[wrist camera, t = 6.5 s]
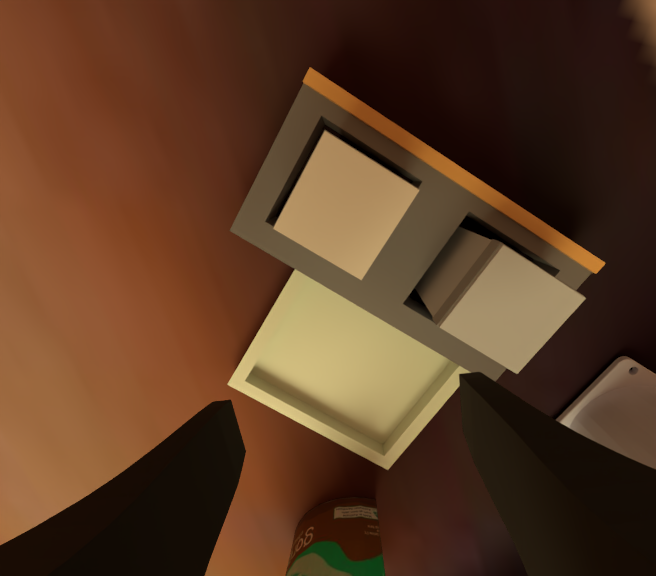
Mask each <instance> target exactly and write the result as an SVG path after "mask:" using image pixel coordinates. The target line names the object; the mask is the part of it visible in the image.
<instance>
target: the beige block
mask: <svg viewBox="0 0 656 576" xmlns="http://www.w3.org/2000/svg"><path fill="white" fill-rule="evenodd" d="M415 289H416V291H417V292H418V294H419V295H420V297H421V299H422V300H423V302H424V303H425V305H426V307H427V308H428V310H429V311H430V313H431V315H432V316H433V318H432V319H433V321H434V322H435V324H436V326H438V327H439V328H441V329H443V330H444V331H446V332H448V333H449V334H451V335H453V336H454V337H456V338H458V339H459V340H461V341H463V342H464V343H466V344H468V345H469V346H471V347H473V348H474V349H476V350H478V351H479V352H481V353H483V354H484V355H486V356H488V357H489V358H491V359H493V360H494V361H496V362H498V363H499V364H501V365H503V366H504V367H506V368H508V369H509V370H511V371H513V372H514V373H516V374H518V373H519V371H520V370H521V369H522V368H523V367H524V366H525V365H526V364H527V363H528V362H529V360H530V359H531V358H532V357H533V356H534V355H535V354H536V353H537V352H538V351H539V349H540V348H541V347H542V346H543V345H544V344H545V343H546V342H547V341H548V339H549V338H550V337H551V336H552V335H553V334H554V333H555V332H556V331H557V330H558V328H559V327H560V326H561V325H562V324H563V323H564V322H565V321H566V320H567V319H568V317H569V316H570V315H571V314H572V313H573V312H574V311H575V310H576V309H577V307H578V306H579V305H580V304H581V303H582V302H583V301H584V300H585V299H586V298H585V297H584V296H583V295H582V294H580V293H579V292H577V291H576V290H574V289H573V288H571V287H570V286H568V285H566V284H565V283H563V282H562V281H560V280H559V279H557V278H556V277H554V276H553V275H551V274H549V273H548V272H546V271H545V270H543V269H542V268H540V267H539V266H537V265H536V264H534V263H533V262H531V261H529V260H528V259H526V258H525V257H523V256H522V255H520V254H519V253H517V252H516V251H514V250H513V249H511V248H509V247H508V246H506V245H505V244H503V243H502V242H499V241H497V240H494V239H492V240H490V239H488V238H486V237H483V236H481V235H478V234H476V233H473V232H471V231H469V230H466V229H464V228H461V227H459V226H458V228H457V229H456V230H455V232H454V233H453V235H452V236H451V237H450V239H449V240H448V241H447V243H446V244H445V246H444V247H443V248H442V250H441V251H440V253H439V254H438V255H437V257H436V258H435V260H434V261H433V262H432V264H431V265H430V267H429V268H428V269H427V271H426V272H425V273H424V275H423V276H422V278H421V279H420V280H419V282H418V283H417V285H416V286H415Z"/></svg>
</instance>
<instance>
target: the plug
mask: <svg viewBox="0 0 656 576" xmlns="http://www.w3.org/2000/svg"><path fill="white" fill-rule="evenodd" d="M419 191H420V189H419V188H417V187H415V186H414V185H412V184H411V183H409V182H407V181H406V180H404V179H403V178H401V177H400V176H398V175H396V174H395V173H393V172H392V171H390V170H388V169H387V168H385V167H384V166H382V165H380V164H379V163H377V162H376V161H374V160H372V159H371V158H369V157H368V156H366V155H365V154H363V153H361V152H360V151H358V150H357V149H355V148H353V147H352V146H350V145H349V144H347V143H345V142H344V141H342V140H341V139H339V138H338V137H336V136H334V135H333V134H331V133H330V132H328V131H326V130H324V132H323V134H322V136H321V138H320V140H319V141H318V143H317V145H316V147H315V149H314V151H313V153H312V155H311V157H310V158H309V160H308V162H307V164H306V166H305V168H304V170H303V172H302V174H301V176H300V177H299V179H298V181H297V183H296V185H295V187H294V189H293V191H292V193H291V194H290V196H289V198H288V200H287V202H286V204H285V206H284V208H283V210H282V212H281V213H280V215H279V217H278V219H277V221H276V223H275V225H274V227H273V229H274V230H276V231H278V232H279V233H281V234H283V235H284V236H286V237H288V238H290V239H291V240H293V241H295V242H296V243H298V244H300V245H302V246H303V247H305V248H307V249H308V250H310V251H312V252H314V253H315V254H317V255H319V256H320V257H322V258H324V259H326V260H327V261H329V262H331V263H332V264H334V265H336V266H337V267H339V268H341V269H343V270H344V271H346V272H348V273H349V274H351V275H353V276H355V277H356V278H358V279H360V280H361V281H362V279H363V278H364V276H365V275H366V273H367V271H368V270H369V268H370V267H371V265H372V264H373V262H374V261H375V259H376V257H377V256H378V254H379V253H380V251H381V250H382V248H383V247H384V245H385V244H386V242H387V240H388V239H389V237H390V236H391V234H392V233H393V231H394V230H395V228H396V227H397V225H398V223H399V222H400V220H401V219H402V217H403V216H404V214H405V213H406V211H407V209H408V208H409V206H410V205H411V203H412V202H413V200H414V199H415V197H416V196H417V194H418V192H419Z"/></svg>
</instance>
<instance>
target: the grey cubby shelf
mask: <svg viewBox="0 0 656 576" xmlns="http://www.w3.org/2000/svg"><path fill="white" fill-rule="evenodd" d="M324 125H327V126H328V127H330V128H331V129H333V130H335V131H336V132H338V133H339V134H341V135H342V136H344V137H345V138H347V139H348V140H350V141H352V142H353V143H355V144H356V145H358V146H359V147H361V148H362V149H364V150H365V151H367V152H369V153H370V154H372V155H373V156H375V157H376V158H378V159H379V160H381V161H383V162H384V163H386V164H387V165H389V166H390V167H392V168H393V169H395V170H396V171H398V172H400V173H401V174H403V175H404V176H406V177H407V178H409V179H410V180H412V181H413V182H412V185H414V186H415V187H417V188H419V189H420V191H419V192H418V194H417V196H416V197H415V199H414V200H413V202H412V203H411V205H410V206H409V208H408V209H407V211H406V213H405V214H404V216H403V217H402V219H401V220H400V222H399V223H398V225H397V227H396V228H395V230H394V231H393V233H392V234H391V236H390V237H389V239H388V240H387V242H386V244H385V245H384V247H383V248H382V250H381V251H380V253H379V254H378V256H377V257H376V259H375V261H374V262H373V264H372V265H371V267H370V268H369V270H368V271H367V273H366V275H365V276H364V278H363V279H362V281H361V280H360V279H358V278H356V277H355V276H353V275H351V274H349V273H348V272H346V271H344V270H343V269H341V268H339V267H337V266H336V265H334V264H332V263H331V262H329V261H327V260H326V259H324V258H322V257H320V256H319V255H317V254H315V253H314V252H312V251H310V250H308V249H307V248H305V247H303V246H302V245H300V244H298V243H296V242H295V241H293V240H291V239H290V238H288V237H286V236H284V235H283V234H281V233H279V232H278V231H276V230H274V229H273V227H274V225H275V223H276V221H277V219H278V218H277V217H275V216H276V215H277V213H278V211H279V209H280V207H281V205H282V203H283V202H284V200H285V198H286V196H287V194H288V192H289V190H290V189H291V187H292V185H293V183H294V181H295V179H296V177H297V176H298V174H299V172H300V170H301V168H302V166H303V164H304V163H305V161H306V159H307V157H308V155H309V153H310V151H311V150H312V148H313V146H314V144H315V142H316V140H317V138H318V137H319V135H320V133H321V131H322V129H323V127H324ZM465 216H468V217H469V218H471V219H472V220H474V221H475V222H477V223H478V224H480V225H482V226H483V227H485V228H486V229H488V230H489V231H491V232H492V233H494V234H496V235H497V236H499V237H500V238H502V239H503V240H505V241H506V242H508V243H509V244H511V245H513V246H514V247H516V248H517V249H519V250H520V251H522V252H523V253H525V254H526V255H528V256H530V257H531V258H533V261H532V262H533V263H534V264H536V265H537V266H539V267H540V268H542V269H543V270H545V271H546V272H548V273H549V274H551V275H553V276H554V277H556V278H557V279H559V280H560V281H562V282H563V283H565V284H566V285H568V286H570V287H571V288H573V289H574V290H577V289H578V287H579V286H580V285H581V284H582V283H583V282H584V281H585V279H586V278H587V277H588V276H589V275H590V274H591V273H592V272H593V273H595V274H597V272H598V271H599V270H600V269H601V268H602V267H603V266H604V265H605V262H603V261H602V260H600V259H599V258H597V257H596V256H594V255H593V254H591V253H590V252H588V251H587V250H585V249H584V248H582V247H580V246H579V245H577V244H576V243H574V242H573V241H571V240H570V239H568V238H567V237H565V236H564V235H562V234H561V233H559V232H558V231H556V230H555V229H553V228H552V227H550V226H549V225H547V224H546V223H544V222H543V221H541V220H540V219H538V218H537V217H535V216H534V215H532V214H531V213H529V212H528V211H526V210H525V209H523V208H522V207H520V206H519V205H517V204H516V203H514V202H513V201H511V200H510V199H508V198H507V197H505V196H504V195H502V194H501V193H499V192H498V191H496V190H495V189H493V188H492V187H490V186H488V185H487V184H485V183H484V182H482V181H481V180H479V179H478V178H476V177H475V176H473V175H472V174H470V173H469V172H467V171H466V170H464V169H463V168H461V167H460V166H458V165H457V164H455V163H454V162H452V161H451V160H449V159H448V158H446V157H445V156H443V155H442V154H440V153H439V152H437V151H436V150H434V149H433V148H431V147H430V146H428V145H427V144H425V143H424V142H422V141H421V140H419V139H418V138H416V137H415V136H413V135H412V134H410V133H409V132H407V131H406V130H404V129H403V128H401V127H399V126H398V125H396V124H395V123H393V122H392V121H390V120H389V119H387V118H386V117H384V116H383V115H381V114H380V113H378V112H377V111H375V110H374V109H372V108H371V107H369V106H368V105H366V104H365V103H363V102H362V101H360V100H359V99H357V98H356V97H354V96H353V95H351V94H350V93H348V92H347V91H345V90H344V89H342V88H341V87H339V86H338V85H336V84H335V83H333V82H332V81H330V80H329V79H327V78H326V77H324V76H323V75H321V74H320V73H318V72H317V71H315V70H314V69H312V68H311V67H310V68H309V70H308V72H307V74H306V76H305V78H304V80H303V85H302V87H301V89H300V91H299V93H298V95H297V97H296V99H295V101H294V103H293V105H292V107H291V109H290V111H289V113H288V115H287V117H286V119H285V121H284V123H283V125H282V127H281V129H280V131H279V133H278V135H277V137H276V139H275V141H274V143H273V145H272V147H271V149H270V151H269V153H268V155H267V157H266V159H265V161H264V163H263V165H262V167H261V169H260V171H259V173H258V175H257V177H256V179H255V181H254V183H253V185H252V187H251V189H250V191H249V193H248V195H247V197H246V199H245V201H244V203H243V205H242V207H241V209H240V211H239V213H238V215H237V217H236V219H235V221H234V223H233V225H232V227H231V229H230V231H231V232H233V233H234V234H236V235H238V236H240V237H241V238H243V239H245V240H246V241H248V242H250V243H252V244H253V245H255V246H257V247H258V248H260V249H262V250H263V251H265V252H267V253H269V254H270V255H272V256H274V257H275V258H277V259H279V260H280V261H282V262H284V263H286V264H287V265H289V266H291V267H292V268H294V269H296V270H297V271H299V272H301V273H303V274H304V275H306V276H308V277H309V278H311V279H313V280H314V281H316V282H318V283H320V284H321V285H323V286H325V287H326V288H328V289H330V290H331V291H333V292H335V293H337V294H338V295H340V296H342V297H343V298H345V299H347V300H349V301H350V302H352V303H354V304H355V305H357V306H359V307H360V308H362V309H364V310H366V311H367V312H369V313H371V314H372V315H374V316H376V317H377V318H379V319H381V320H383V321H384V322H386V323H388V324H389V325H391V326H393V327H394V328H396V329H398V330H400V331H401V332H403V333H405V334H406V335H408V336H410V337H411V338H413V339H415V340H417V341H418V342H420V343H422V344H423V345H425V346H427V347H429V348H430V349H432V350H434V351H435V352H437V353H439V354H440V355H442V356H444V357H446V358H447V359H449V360H451V361H452V362H454V363H456V364H457V365H459V366H461V367H463V368H464V369H466V370H468V371H469V372H471V373H472V372H481V373H483V374H484V375H486V376H487V377H489V378H490V379H492V380H493V381H496V380H497V379H498V378H499V377H500V375H501V374H502V373H503V372H504V371H505V370H506V369H507V368H506V367H504V366H503V365H501V364H499V363H498V362H496V361H494V360H493V359H491V358H489V357H488V356H486V355H484V354H483V353H481V352H479V351H478V350H476V349H474V348H473V347H471V346H469V345H468V344H466V343H464V342H463V341H461V340H459V339H458V338H456V337H454V336H453V335H451V334H449V333H448V332H446V331H444V330H443V329H441V328H439V327H438V326H436V324H435V322H434V321H433V319H432V318H433V316H432V315H431V313H430V311H429V310H428V308H427V307H425V306H423V305H422V304H420V303H418V302H417V301H415V300H413V299H412V298H410V297H408V296H409V294H410V293H411V292H412V290H413V289H414V287H415V286H416V285H417V283H418V282H419V280H420V279H421V278H422V276H423V275H424V273H425V272H426V271H427V269H428V268H429V267H430V265H431V264H432V262H433V261H434V260H435V258H436V257H437V255H438V254H439V253H440V251H441V250H442V248H443V247H444V246H445V244H446V243H447V241H448V240H449V239H450V237H451V236H452V235H453V233H454V232H455V230H456V229H457V228H458V226H459V225H460V223H461V222H462V221H463V219H464V218H465Z"/></svg>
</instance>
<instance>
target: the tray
mask: <svg viewBox="0 0 656 576" xmlns="http://www.w3.org/2000/svg"><path fill="white" fill-rule="evenodd" d="M463 373H471V372H469V371H468V370H466V369H464V368H463V367H461V366H459V365H457V364H456V363H454V362H452V361H451V360H449V359H447V358H446V357H444V356H442V355H440V354H439V353H437V352H435V351H434V350H432V349H430V348H429V347H427V346H425V345H423V344H422V343H420V342H418V341H417V340H415V339H413V338H411V337H410V336H408V335H406V334H405V333H403V332H401V331H400V330H398V329H396V328H394V327H393V326H391V325H389V324H388V323H386V322H384V321H383V320H381V319H379V318H377V317H376V316H374V315H372V314H371V313H369V312H367V311H366V310H364V309H362V308H360V307H359V306H357V305H355V304H354V303H352V302H350V301H349V300H347V299H345V298H343V297H342V296H340V295H338V294H337V293H335V292H333V291H331V290H330V289H328V288H326V287H325V286H323V285H321V284H320V283H318V282H316V281H314V280H313V279H311V278H309V277H308V276H306V275H304V274H303V273H301V272H299V271H297V270H296V269H295V270H294V272H293V273H292V275H291V277H290V279H289V280H288V282H287V284H286V285H285V287H284V289H283V290H282V292H281V294H280V296H279V297H278V299H277V301H276V302H275V304H274V306H273V308H272V309H271V311H270V313H269V314H268V316H267V318H266V319H265V321H264V323H263V325H262V326H261V328H260V330H259V331H258V333H257V335H256V337H255V338H254V340H253V342H252V343H251V345H250V347H249V348H248V350H247V352H246V354H245V355H244V357H243V359H242V360H241V362H240V364H239V366H238V367H237V369H236V371H235V372H234V374H233V376H232V377H231V379H230V381H229V383H228V384H227V385H229V386H231V387H233V388H235V389H237V390H239V391H240V392H242V393H244V394H246V395H248V396H250V397H252V398H254V399H255V400H257V401H259V402H261V403H263V404H265V405H267V406H269V407H270V408H272V409H274V410H276V411H278V412H280V413H282V414H284V415H285V416H287V417H289V418H291V419H293V420H295V421H297V422H299V423H300V424H302V425H304V426H306V427H308V428H310V429H312V430H314V431H315V432H317V433H319V434H321V435H323V436H325V437H327V438H329V439H330V440H332V441H334V442H336V443H338V444H340V445H342V446H344V447H345V448H347V449H349V450H351V451H353V452H355V453H357V454H358V455H360V456H362V457H364V458H366V459H368V460H370V461H372V462H373V463H375V464H377V465H379V466H381V467H383V468H385V469H387V470H388V469H389V468H390V467H391V466H392V465H393V463H394V462H395V461H396V460H397V459H398V458H399V456H400V455H401V454H402V453H403V452H404V450H405V449H406V448H407V447H408V446H409V445H410V443H411V442H412V441H413V440H414V439H415V438H416V436H417V435H418V434H419V433H420V432H421V430H422V429H423V428H424V427H425V426H426V425H427V423H428V422H429V421H430V420H431V419H432V418H433V416H434V415H435V414H436V413H437V412H438V410H439V409H440V408H441V407H442V406H443V405H444V403H445V402H446V401H447V400H448V399H449V398H450V396H451V395H452V394H453V393H454V392H455V390H456V389H457V388H458V387H459V386H460V383H459V374H463Z"/></svg>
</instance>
